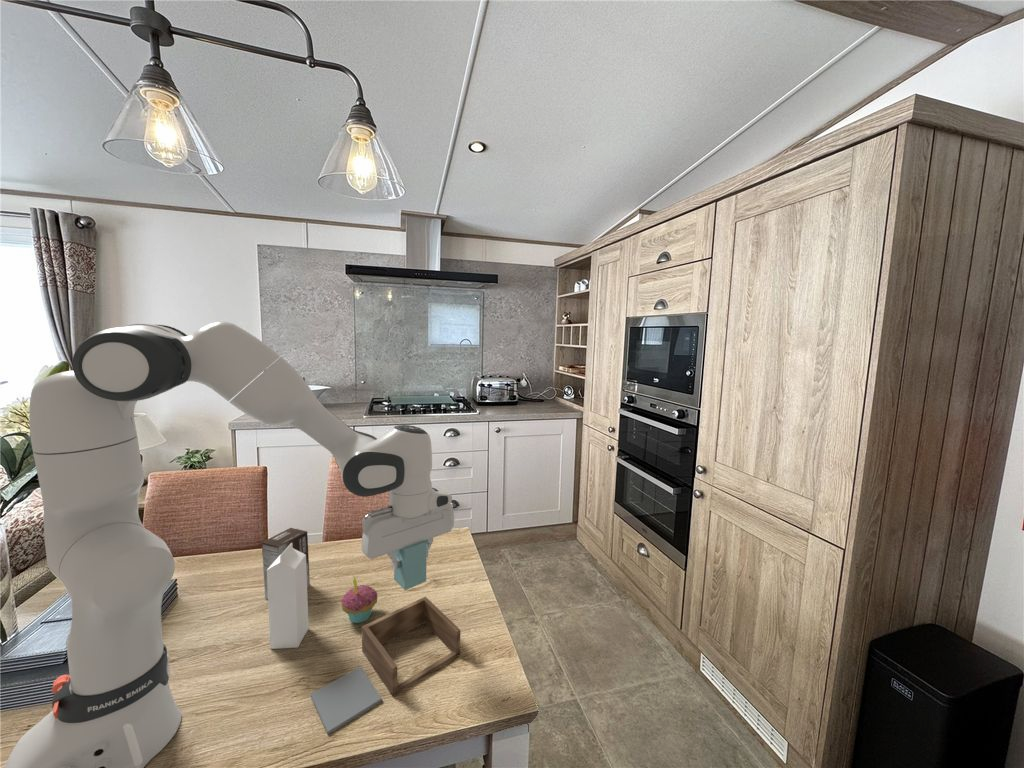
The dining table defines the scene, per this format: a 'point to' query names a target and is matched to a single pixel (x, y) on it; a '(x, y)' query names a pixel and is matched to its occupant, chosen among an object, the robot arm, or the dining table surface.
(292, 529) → the coffee box
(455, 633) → the crate
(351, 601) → the cupcake
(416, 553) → the block
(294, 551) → the milk
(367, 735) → the dining table surface
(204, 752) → the dining table surface
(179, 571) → the dining table surface
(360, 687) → the mat
